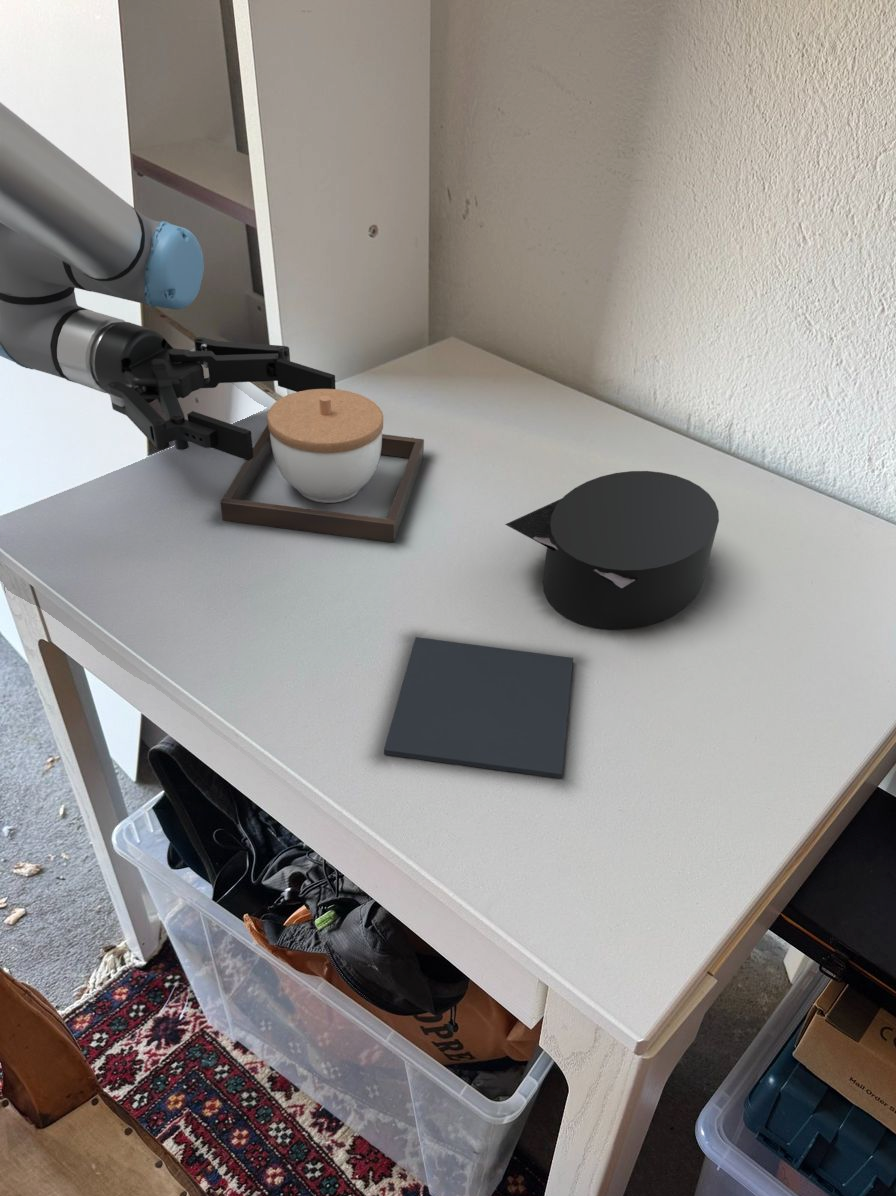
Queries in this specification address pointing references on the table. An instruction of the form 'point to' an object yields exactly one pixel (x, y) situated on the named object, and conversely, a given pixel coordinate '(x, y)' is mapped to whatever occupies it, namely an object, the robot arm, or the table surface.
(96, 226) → the robot arm
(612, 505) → the tape dispenser
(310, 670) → the table surface
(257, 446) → the dark wooden square frame
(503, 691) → the mat
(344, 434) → the trinket box
